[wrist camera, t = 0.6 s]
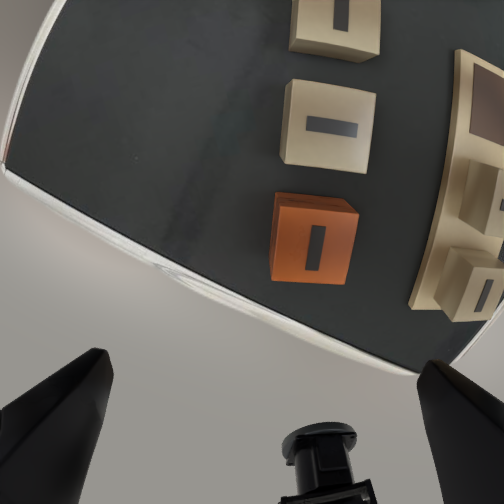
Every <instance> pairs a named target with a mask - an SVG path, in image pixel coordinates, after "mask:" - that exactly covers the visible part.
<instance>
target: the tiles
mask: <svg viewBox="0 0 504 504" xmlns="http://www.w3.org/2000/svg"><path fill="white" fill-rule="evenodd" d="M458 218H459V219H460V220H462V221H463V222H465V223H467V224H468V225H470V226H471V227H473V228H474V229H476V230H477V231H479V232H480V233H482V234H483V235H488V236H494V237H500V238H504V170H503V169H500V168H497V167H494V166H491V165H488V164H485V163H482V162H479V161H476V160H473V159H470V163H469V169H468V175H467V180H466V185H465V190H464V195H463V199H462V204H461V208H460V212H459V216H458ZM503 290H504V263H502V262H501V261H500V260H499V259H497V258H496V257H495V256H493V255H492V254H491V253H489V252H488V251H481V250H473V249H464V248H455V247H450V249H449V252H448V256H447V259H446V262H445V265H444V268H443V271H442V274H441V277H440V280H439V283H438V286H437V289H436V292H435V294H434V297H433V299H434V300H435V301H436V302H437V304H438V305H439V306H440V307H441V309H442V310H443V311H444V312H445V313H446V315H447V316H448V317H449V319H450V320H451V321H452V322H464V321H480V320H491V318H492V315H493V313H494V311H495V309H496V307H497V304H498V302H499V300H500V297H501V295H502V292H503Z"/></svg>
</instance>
